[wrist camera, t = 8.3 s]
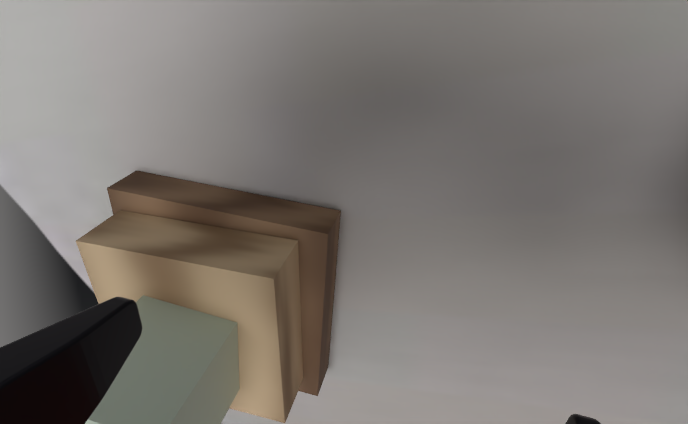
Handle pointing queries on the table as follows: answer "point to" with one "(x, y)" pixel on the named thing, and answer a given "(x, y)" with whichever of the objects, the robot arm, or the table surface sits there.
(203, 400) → the sage block
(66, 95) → the table surface
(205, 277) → the oak slab
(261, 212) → the walnut slab
